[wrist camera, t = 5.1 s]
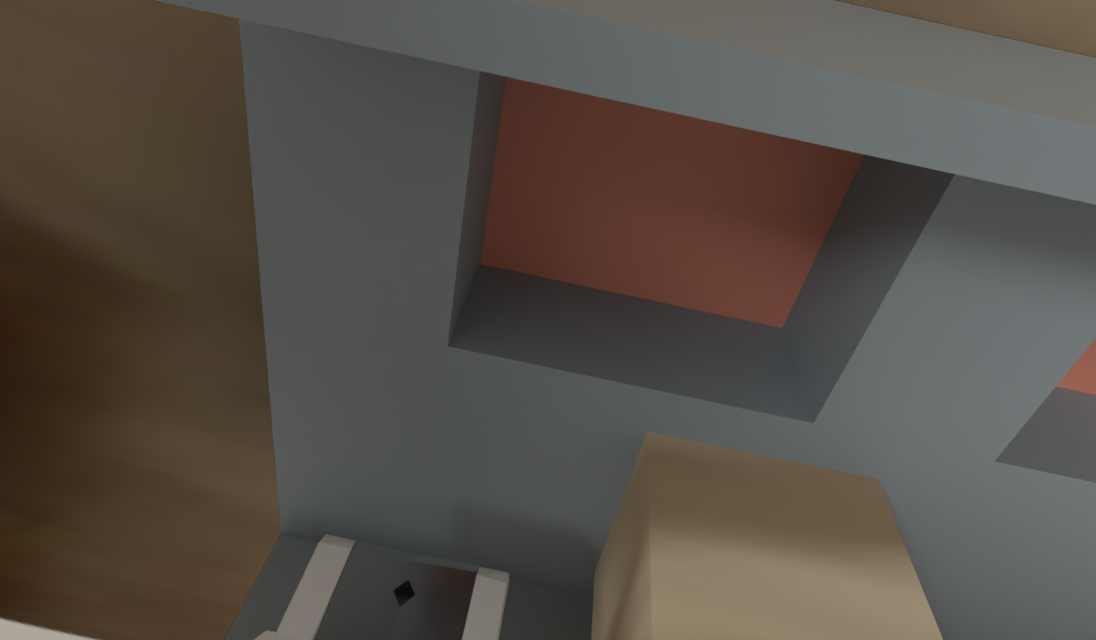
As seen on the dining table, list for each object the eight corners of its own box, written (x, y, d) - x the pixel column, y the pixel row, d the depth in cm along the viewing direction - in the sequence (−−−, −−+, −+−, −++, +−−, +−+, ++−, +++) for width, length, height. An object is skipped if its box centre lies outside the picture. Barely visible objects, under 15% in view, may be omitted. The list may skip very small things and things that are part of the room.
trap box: (330, -111, 10) (71, -97, 5) (1744, 200, 10) (2647, 466, 6) (334, 450, 17) (222, 667, 12) (1179, 625, 17) (1379, 901, 12)
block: (647, 431, 11) (653, 666, 8) (878, 479, 11) (981, 734, 8) (594, 571, 13) (582, 799, 10) (787, 611, 13) (837, 850, 10)
